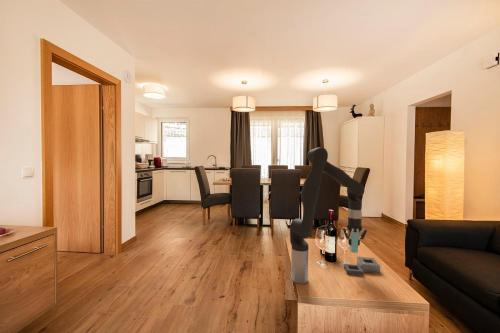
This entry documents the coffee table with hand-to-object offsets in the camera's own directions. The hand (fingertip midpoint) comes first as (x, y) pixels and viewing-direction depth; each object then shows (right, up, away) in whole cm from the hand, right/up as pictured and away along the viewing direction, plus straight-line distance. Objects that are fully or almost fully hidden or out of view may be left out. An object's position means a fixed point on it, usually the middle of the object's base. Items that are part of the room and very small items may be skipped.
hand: (354, 245), depth 143 cm
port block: (+11, -16, +5) cm, 20 cm away
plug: (0, -4, 0) cm, 4 cm away
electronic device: (-7, -16, +27) cm, 32 cm away
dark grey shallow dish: (0, -16, 0) cm, 16 cm away
